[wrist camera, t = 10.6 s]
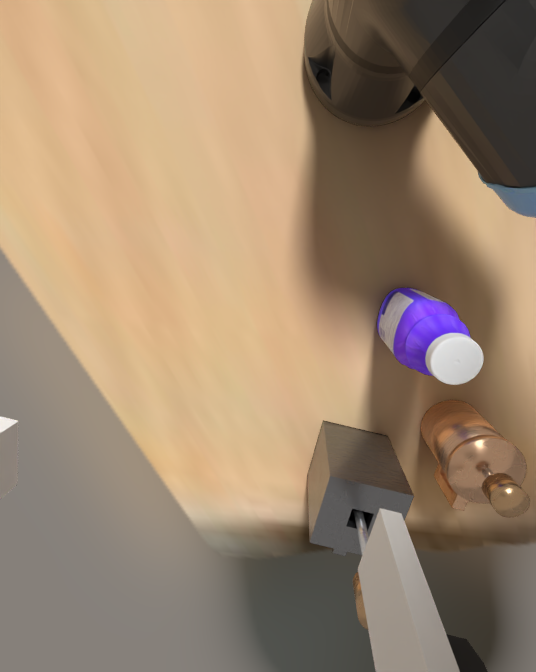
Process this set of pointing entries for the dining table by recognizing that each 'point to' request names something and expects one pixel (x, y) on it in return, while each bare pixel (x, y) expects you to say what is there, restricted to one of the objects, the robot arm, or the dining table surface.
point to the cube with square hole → (352, 485)
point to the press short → (474, 459)
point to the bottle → (428, 336)
